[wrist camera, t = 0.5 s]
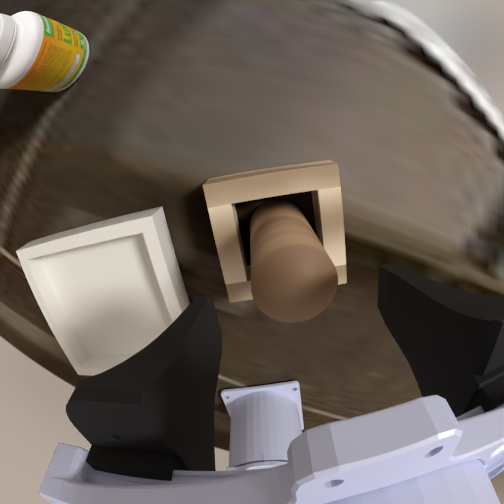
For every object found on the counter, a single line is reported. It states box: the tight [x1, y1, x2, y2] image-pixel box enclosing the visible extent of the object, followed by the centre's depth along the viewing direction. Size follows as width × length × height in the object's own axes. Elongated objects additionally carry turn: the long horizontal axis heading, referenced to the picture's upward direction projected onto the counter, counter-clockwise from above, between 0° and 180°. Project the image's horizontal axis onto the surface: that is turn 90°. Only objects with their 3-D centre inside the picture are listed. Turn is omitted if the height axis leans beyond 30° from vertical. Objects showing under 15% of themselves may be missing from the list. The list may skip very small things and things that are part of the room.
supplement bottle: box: [0, 11, 89, 92], centre depth 11 cm, size 5×5×10 cm
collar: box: [203, 160, 347, 303], centre depth 20 cm, size 8×8×2 cm
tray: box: [16, 207, 190, 375], centre depth 23 cm, size 14×14×2 cm
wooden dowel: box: [250, 199, 338, 322], centre depth 17 cm, size 4×4×9 cm
